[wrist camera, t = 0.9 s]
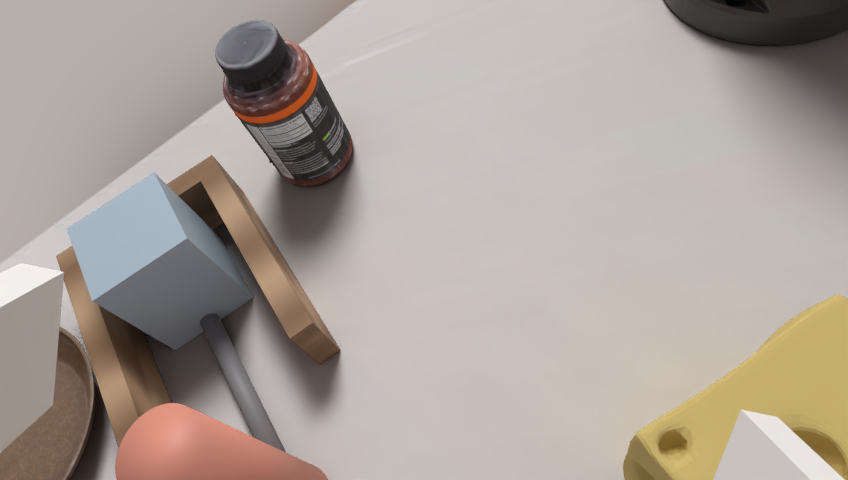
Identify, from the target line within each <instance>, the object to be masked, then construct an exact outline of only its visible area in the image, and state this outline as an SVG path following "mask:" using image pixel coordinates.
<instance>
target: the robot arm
mask: <svg viewBox="0 0 848 480" xmlns="http://www.w3.org/2000/svg"><path fill="white" fill-rule="evenodd" d="M665 2H666V3H667V5H668V6H669V7H670V9H671V10H672V11H673V12H674V13H675V14H676V15H677V16H678V17H680V18H681V19H682V20H683V21H685V22H686V23H688V24H689V25H691V26H693V27H695V28H696V29H698V30H700V31H703V32H705V33H707V34H710V35H712V36H715V37H718V38H722V39H725V40H730V41H734V42H739V43H746V44H755V45H787V44H796V43H803V42H808V41H813V40H817V39H821V38H824V37H828V36H831V35H833V34H836V33H839V32H841V31H843V30H846V29H848V0H665ZM63 279H64V272H62V271H57V270H52V269H47V268H42V267H37V266H32V265H27V264H22V263H20V264H18V265H16V266H14V267H12V268H10V269H8V270H6V271H3V272H1V273H0V453H1V452H2V451H3V450H4V449H5V448H6V447H7V446H9V445H10V444H11V443H12V442H13V441H14V440H15V439H16V438H17V437H18V436H20V435H21V434H22V433H23V432H24V431H25V430H26V429H27V428H28V427H29V426H31V425H32V424H33V423H34V422H35V421H36V420H37V419H38V418H39V417H40V416H42V415H43V414H44V413H45V412H46V411H47V410H48V409H49V408H50V407H51V406H53V399H54V387H55V375H56V363H57V351H58V339H59V327H60V315H61V303H62V291H63ZM713 480H845V479H843V478H842V477H841V476H840V475H839V474H838V473H837V472H836V471H835V470H834V469H833V468H832V467H831V466H829V465H828V464H827V463H826V462H825V461H824V460H823V459H822V458H821V457H820V456H819V455H818V454H817V453H816V452H814V451H813V450H812V449H811V448H810V447H809V446H808V445H807V444H806V443H805V442H804V441H803V440H802V439H800V438H799V437H798V436H797V435H796V434H795V433H794V432H793V431H792V430H791V429H790V428H789V427H788V426H787V425H785V424H784V423H783V422H782V421H781V420H780V419H779V418H778V417H776V416H771V415H766V414H761V413H756V412H751V411H746V410H741V411H740V413H739V416H738V418H737V421H736V423H735V426H734V428H733V431H732V433H731V436H730V438H729V441H728V443H727V446H726V448H725V451H724V453H723V456H722V458H721V461H720V463H719V466H718V468H717V471H716V474H715V476H714V479H713Z"/></svg>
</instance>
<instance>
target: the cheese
mask: <svg viewBox="0 0 848 480" xmlns="http://www.w3.org/2000/svg"><path fill="white" fill-rule="evenodd" d="M741 410H746V411H751V412H756V413H761V414H766V415H771V416H776V417H778V418H779V419H780V420H781V421H782V422H783V423H784V424H785V425H787V426H788V427H789V428H790V429H791V430H792V431H793V432H794V433H795V434H796V435H797V436H798V437H799V438H800V439H802V440H803V441H804V442H805V443H806V444H807V445H808V446H809V447H810V448H811V449H812V450H813V451H814V452H816V453H817V454H818V455H819V456H820V457H821V458H822V459H823V460H824V461H825V462H826V463H827V464H828V465H829V466H831V467H832V468H833V469H834V470H835V471H836V472H837V473H838V474H839V475H840V476H841V477H842V478H843V479H845V480H848V300H847V299H846V298H845V297H844V296H842V295H835V296H832V297H830V298H829V299H827V300H825V301H822V302H820V303H818V304H816V305H814V306H812V307H810V308H808V309H806V310H805V311H803V312H801V313H800V314H798V315H796V316H795V317H794V318H792V319H791V320H789V321H788V322H787V323H785V324H784V325H783V326H782V327H781V328H779V329H778V330H777V331H776V332H775V333H774V334H773V335H772V336H771V337H769V338H768V339H767V340H766V342H765V343H764V344H763V345H762V346H761V347H760V348H759V349H758V350H757V352H756V353H755V354H753V355H752V356H751V357H750V358H748V359H747V360H746V361H744V362H743V363H742V364H740V365H739V366H738V367H736V368H735V369H734V370H732V371H731V372H730V373H728V374H727V375H726V376H724V377H723V378H721V379H720V380H718V381H717V382H715V383H714V384H713V385H711V386H710V387H708V388H707V389H705V390H704V391H702V392H701V393H699V394H697V395H696V396H694V397H693V398H691V399H689V400H688V401H686V402H685V403H683V404H681V405H680V406H678V407H676V408H675V409H673V410H671V411H670V412H668V413H667V414H665V415H663V416H662V417H660V418H658V419H657V420H655V421H654V422H652V423H651V424H649V425H647V426H646V427H644V428H643V429H641V430H640V431H638V432H637V433H636V434H635V436H634V437H633V439H632V440H631V442H630V445H629V448H628V453H627V455H626V457H625V460H624V464H623V471H624V478H625V480H713V479H714V476H715V474H716V471H717V468H718V466H719V463H720V461H721V458H722V456H723V453H724V451H725V448H726V446H727V443H728V441H729V438H730V436H731V433H732V431H733V428H734V426H735V423H736V421H737V418H738V416H739V413H740V411H741Z"/></svg>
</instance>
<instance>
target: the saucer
mask: <svg viewBox="0 0 848 480" xmlns="http://www.w3.org/2000/svg"><path fill="white" fill-rule="evenodd" d="M94 410H95V385H94V378H93V373H92V369H91V365H90V362H89V359H88V356H87V354H86V352H85V350H84V348H83V347H82V345H81V344H80V342H79V341H78V340H77V339H76V338H75V337H74V336H73V335H72V334H71V333H69V332H68V331H67V330H65V329H63V328H61V327H59V339H58V351H57V363H56V375H55V387H54V399H53V406H51V407H50V408H49V409H48V410H47V411H46V412H45V413H44V414H43V415H42V416H40V417H39V418H38V419H37V420H36V421H35V422H34V423H33V424H32V425H31V426H29V427H28V428H27V429H26V430H25V431H24V432H23V433H22V434H21V435H20V436H18V437H17V438H16V439H15V440H14V441H13V442H12V443H11V444H10V445H9V446H7V447H6V448H5V449H4V450H3V451H2V452H1V453H0V480H69V479H70V477H71V476H72V474H73V472H74V470H75V469H76V467H77V465H78V463H79V461H80V459H81V457H82V454H83V452H84V450H85V447H86V444H87V442H88V438H89V435H90V432H91V427H92V423H93V417H94Z"/></svg>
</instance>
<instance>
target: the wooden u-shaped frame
mask: <svg viewBox="0 0 848 480" xmlns="http://www.w3.org/2000/svg"><path fill="white" fill-rule="evenodd" d="M167 186H168V187H169V188H170V189H171V190H172V191H174V192H175V193H176V194H177V195H178V196H179V197H180V198H181V199H182V200H183V201H184V202H185V203H186V204H187V205H188V206H189V207H190V208H191V209H192V210H193V211H194V212H195V213H196V214H197V215H198V216H199V217H200V218H201V219H202V220H203V221H204V222H205V223H206V224H207V225H208V226H209V227H210V228H212V229H213V230H214V229H215V228H217V227H218V226H220V225H221V224H223V223H225V225H226V227H227V228H228V230H229V232H230V234H231V236H232V237H233V239H234V241H235V243H236V244H237V246H238V248H239V250H240V252H241V253H242V255H243V257H244V259H245V260H246V262H247V264H248V266H249V268H250V269H251V271H252V273H253V275H254V276H255V278H256V280H257V282H258V284H259V285H260V287H261V289H262V291H263V292H264V294H265V296H266V298H267V300H268V301H269V303H270V305H271V307H272V308H273V310H274V312H275V314H276V315H277V317H278V319H279V321H280V323H281V324H282V326H283V328H284V330H285V331H286V333H287V335H288V337H289V339H291V340H292V341H293V342H294V343H295V344H296V345H298V346H299V347H300V348H301V349H302V350H303V351H305V352H306V353H307V354H308V355H309V356H310V357H311V358H313V359H314V360H315V361H316V362H317V363H318V364H322V363H323V362H324V361H326V360H327V359H329V358H330V357H331V356H333V355H334V354H336V353H337V352H338V351H340V349H339V347H338V345H337V344H336V342H335V340H334V339H333V337H332V336H331V334H330V332H329V331H328V329H327V327H326V326H325V324H324V323H323V321H322V319H321V318H320V316H319V314H318V313H317V311H316V309H315V308H314V306H313V305H312V303H311V301H310V300H309V298H308V296H307V295H306V293H305V292H304V290H303V288H302V287H301V285H300V283H299V282H298V280H297V278H296V277H295V275H294V274H293V272H292V270H291V269H290V267H289V265H288V264H287V262H286V261H285V259H284V257H283V256H282V254H281V252H280V251H279V249H278V247H277V246H276V244H275V243H274V241H273V239H272V238H271V236H270V234H269V233H268V231H267V230H266V228H265V226H264V225H263V223H262V221H261V220H260V218H259V217H258V215H257V213H256V212H255V210H254V208H253V207H252V205H251V203H250V202H249V200H248V199H247V197H246V195H245V194H244V192H243V191H242V190H241V188H240V187H239V186H238V185H237V184H236V183H235V181H234V180H233V179H232V178H231V177H230V176H229V174H228V173H227V172H226V171H225V170H224V169H223V167H222V166H221V165H220V164H219V163H218V161H217V160H216V159H215V158H214V157H213V156H212V155H211V156H210V157H208V158H207V159H205V160H204V161H202V162H201V163H199V164H197V165H196V166H194V167H193V168H191V169H190V170H188V171H187V172H185V173H184V174H182V175H180V176H179V177H177V178H176V179H174V180H173V181H171V182H170V183H168V184H167ZM56 257H57V261H58V264H59V267H60V270H61V271H62V272H64V282H65V285H66V288H67V291H68V294H69V297H70V300H71V303H72V306H73V309H74V312H75V315H76V319H77V322H78V325H79V328H80V331H81V334H82V337H83V340H84V343H85V346H86V349H87V352H88V355H89V358H90V361H91V364H92V367H93V370H94V373H95V377H96V380H97V383H98V386H99V389H100V392H101V395H102V398H103V401H104V404H105V407H106V410H107V413H108V416H109V419H110V422H111V425H112V428H113V431H114V435H115V438H116V441H117V444H118V447H120V444H121V442H122V440H123V438H124V436H125V434H126V433H127V431H128V430H129V428H130V427H131V426H132V424H133V423H134V422H135V421H136V420H137V419H138V418H139V417H140V416H142V415H143V414H144V413H145V412H147V411H149V410H150V409H152V408H154V407H156V406H159V405H162V404H167V403H172V402H171V400H170V397H169V395H168V392H167V390H166V387H165V385H164V382H163V380H162V377H161V375H160V372H159V370H158V367H157V365H156V362H155V360H154V357H153V355H152V352H151V350H150V347H149V345H148V342H147V340H146V337H145V335H144V332H143V331H142V330H140V329H138V328H137V327H135V326H133V325H131V324H130V323H128V322H126V321H125V320H123V319H121V318H120V317H118V316H116V315H115V314H113V313H111V312H110V311H108V310H106V309H104V308H103V307H101V306H99V305H98V304H96V303H94V302H93V301H92V299H91V297H90V294H89V291H88V288H87V285H86V282H85V280H84V277H83V274H82V271H81V268H80V265H79V263H78V260H77V257H76V254H75V251H74V248H73V246H71V247H69V248H68V249H66V250H65V251H63V252H62V253H60V254H59V255H57V256H56Z"/></svg>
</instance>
